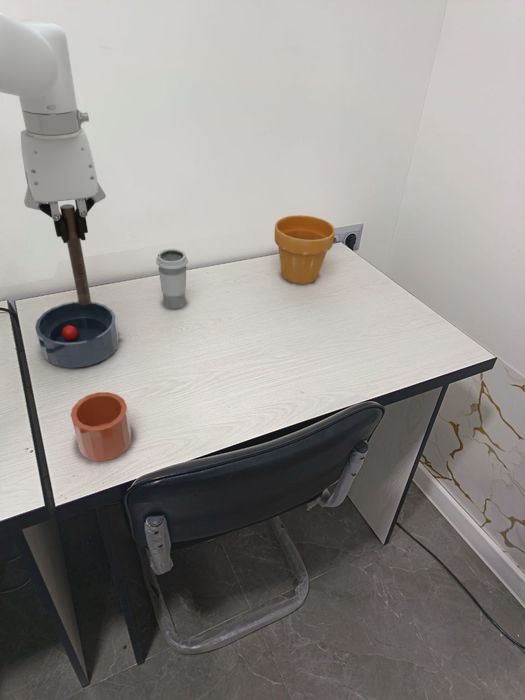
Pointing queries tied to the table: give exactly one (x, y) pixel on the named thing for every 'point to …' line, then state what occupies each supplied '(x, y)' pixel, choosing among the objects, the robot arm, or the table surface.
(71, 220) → the stick
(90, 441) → the holder
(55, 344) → the bowl
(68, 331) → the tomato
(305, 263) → the flower pot
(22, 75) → the robot arm
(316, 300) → the table surface
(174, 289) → the cup
